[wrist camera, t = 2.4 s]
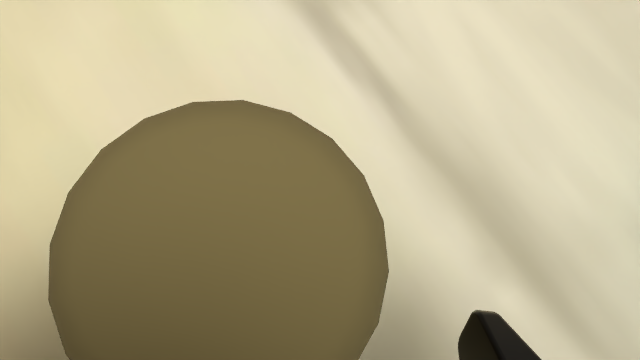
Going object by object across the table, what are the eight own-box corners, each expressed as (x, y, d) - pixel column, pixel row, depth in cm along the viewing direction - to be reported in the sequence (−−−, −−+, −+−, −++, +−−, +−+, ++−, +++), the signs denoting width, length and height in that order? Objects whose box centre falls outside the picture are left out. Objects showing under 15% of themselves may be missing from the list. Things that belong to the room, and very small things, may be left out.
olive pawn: (181, 374, 16) (-7, 599, 5) (150, 201, 17) (-64, 80, 6) (352, 328, 17) (503, 434, 6) (313, 167, 18) (381, 6, 7)
